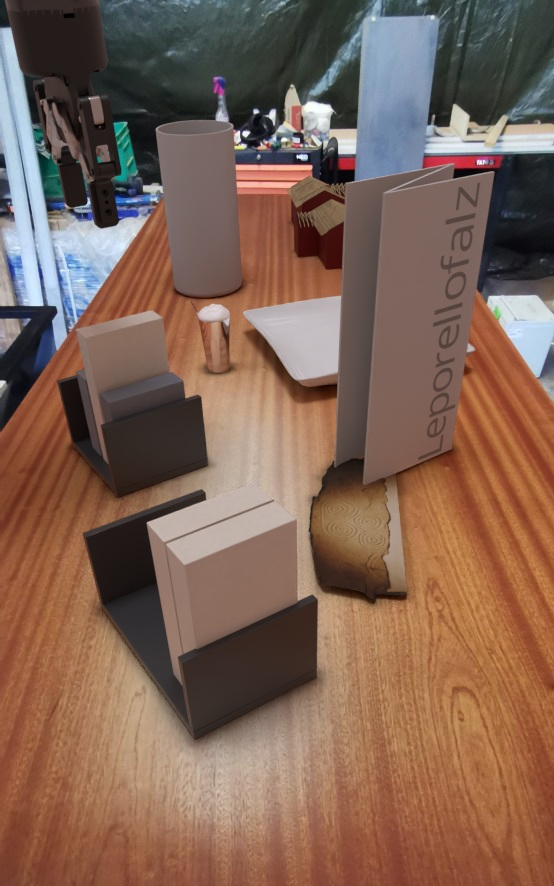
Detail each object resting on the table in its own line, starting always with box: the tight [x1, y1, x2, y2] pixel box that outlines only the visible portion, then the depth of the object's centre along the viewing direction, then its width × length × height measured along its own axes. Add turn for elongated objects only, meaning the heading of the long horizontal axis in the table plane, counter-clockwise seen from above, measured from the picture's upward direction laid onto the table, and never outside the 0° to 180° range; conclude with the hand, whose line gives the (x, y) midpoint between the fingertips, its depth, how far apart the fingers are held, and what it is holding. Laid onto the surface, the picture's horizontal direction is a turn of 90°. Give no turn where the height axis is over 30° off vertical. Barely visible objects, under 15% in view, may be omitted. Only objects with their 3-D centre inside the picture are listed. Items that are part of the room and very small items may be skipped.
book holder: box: [82, 481, 319, 740], centre depth 62 cm, size 12×19×17 cm, turn 33°
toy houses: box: [285, 175, 347, 270], centre depth 146 cm, size 45×20×10 cm, turn 8°
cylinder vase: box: [155, 119, 243, 299], centre depth 127 cm, size 12×12×25 cm
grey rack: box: [56, 368, 209, 498], centre depth 88 cm, size 12×14×11 cm
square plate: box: [242, 295, 476, 388], centre depth 112 cm, size 27×27×4 cm
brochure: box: [333, 162, 496, 485], centre depth 79 cm, size 14×6×30 cm, turn 126°
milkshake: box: [190, 300, 231, 374], centre depth 106 cm, size 4×5×10 cm
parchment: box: [308, 458, 408, 601], centre depth 79 cm, size 25×10×1 cm, turn 176°
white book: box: [75, 309, 171, 464], centre depth 85 cm, size 9×3×16 cm, turn 123°
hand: (91, 215), depth 72 cm, fingers open, 8 cm apart
